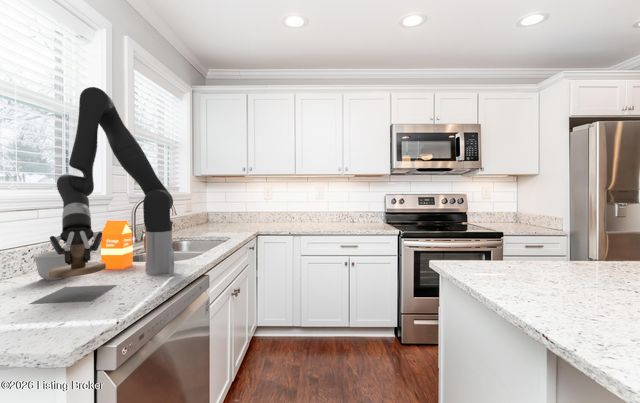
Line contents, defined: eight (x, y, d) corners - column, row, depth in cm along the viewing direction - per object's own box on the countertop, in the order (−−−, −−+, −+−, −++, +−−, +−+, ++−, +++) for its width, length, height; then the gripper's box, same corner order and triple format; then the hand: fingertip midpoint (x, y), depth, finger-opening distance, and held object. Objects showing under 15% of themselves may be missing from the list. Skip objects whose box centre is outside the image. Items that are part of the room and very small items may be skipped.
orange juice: (122, 269, 133) (121, 221, 132) (101, 269, 132) (100, 221, 132) (133, 264, 140) (132, 219, 140) (112, 264, 140) (112, 219, 140)
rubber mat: (117, 287, 107) (117, 284, 107) (91, 304, 91) (91, 301, 91) (65, 289, 104) (65, 286, 104) (28, 307, 88) (28, 303, 88)
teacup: (88, 279, 117) (88, 252, 116) (34, 287, 106) (33, 258, 106) (82, 273, 125) (82, 248, 125) (32, 280, 115) (31, 253, 114)
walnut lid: (114, 264, 106) (113, 240, 105) (91, 275, 92) (89, 247, 91) (67, 267, 103) (66, 242, 103) (36, 279, 90) (35, 250, 89)
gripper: (47, 213, 99) (45, 258, 89) (102, 210, 107) (106, 251, 98) (50, 228, 103) (48, 273, 94) (102, 225, 112) (106, 265, 102)
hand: (78, 261), depth 96 cm, fingers closed on walnut lid, 3 cm apart
